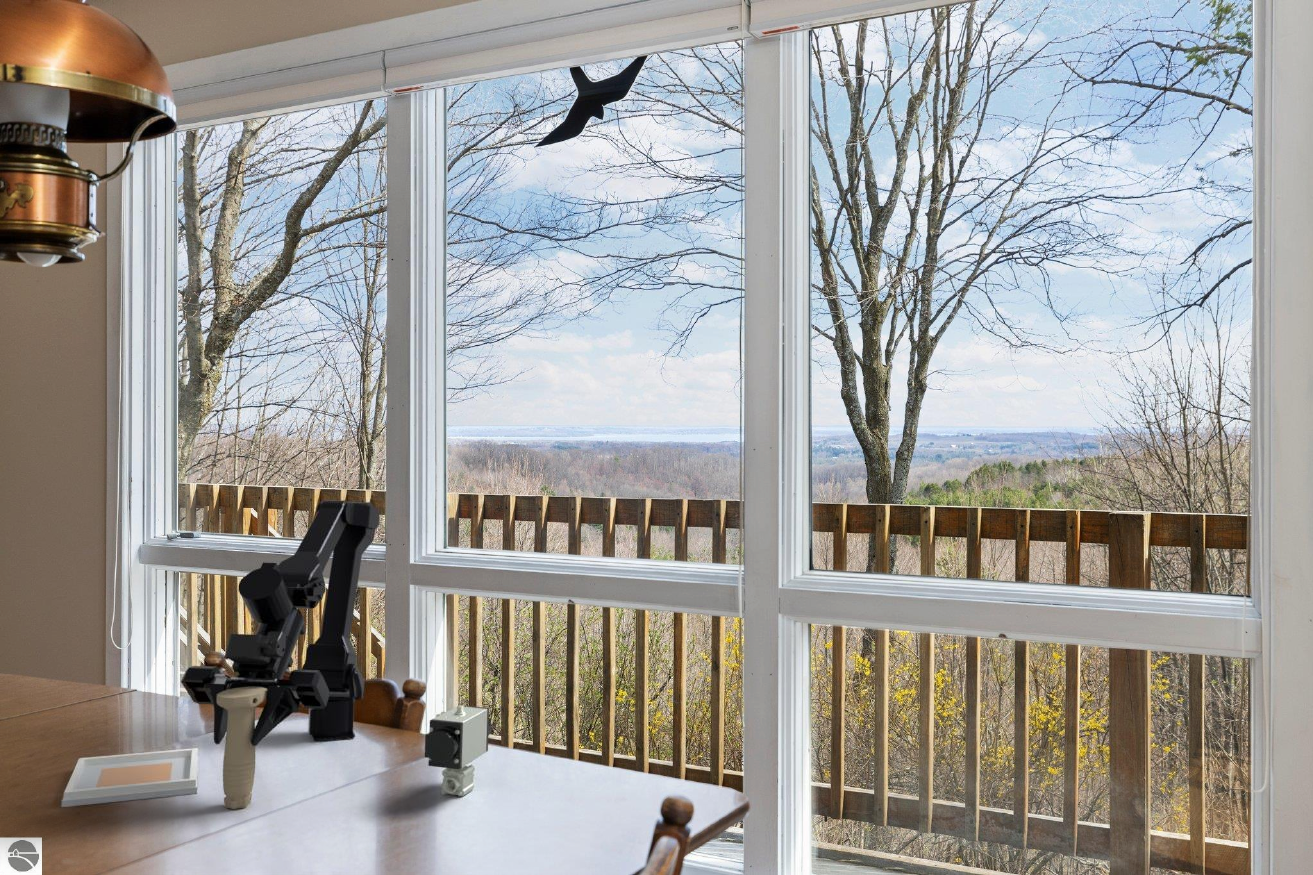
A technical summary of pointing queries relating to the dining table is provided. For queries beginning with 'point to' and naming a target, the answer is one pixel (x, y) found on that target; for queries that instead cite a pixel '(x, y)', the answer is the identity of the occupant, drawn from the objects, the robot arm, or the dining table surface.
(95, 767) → the white shallow tray
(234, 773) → the handle
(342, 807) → the dining table surface
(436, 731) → the pneumatic valve
